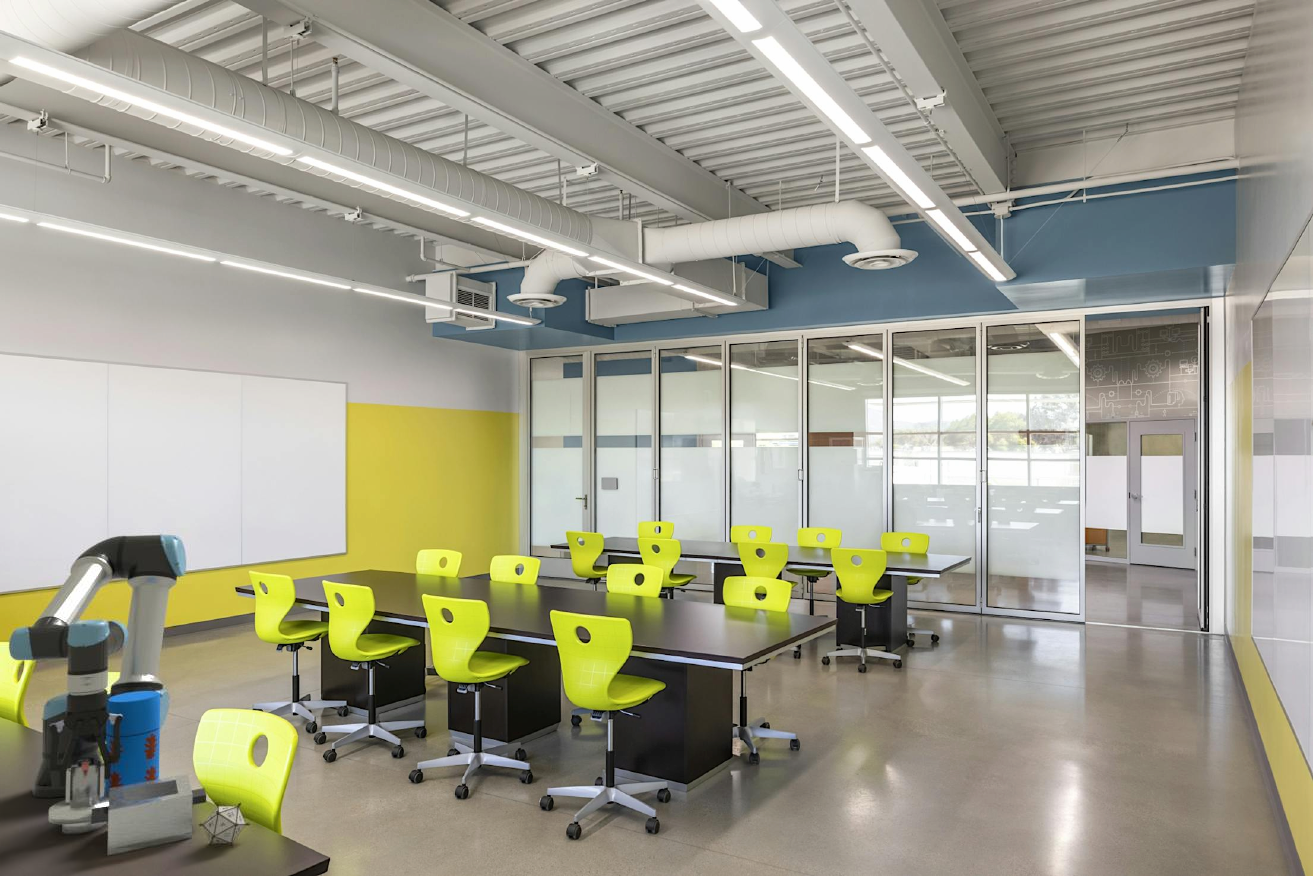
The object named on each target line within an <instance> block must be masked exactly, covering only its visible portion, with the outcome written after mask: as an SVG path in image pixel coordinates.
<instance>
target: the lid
mask: <svg viewBox="0 0 1313 876" xmlns="http://www.w3.org/2000/svg"><path fill="white" fill-rule="evenodd" d="M100 766H101V761H99V760H94V758H93V757H89V758H83V759H80V760H78V763H76V764H73V765H72V766H71V783H70V802H68V803H66V799H64V800H61V801H59V802H57V803H55V804H53V805H51V806H50V807H49V809H48V822H49V823H51V824H54V825H61V826H62V831H61V832H62V833H63V834H67V835H78V834H83V833H88V832H92V831H96V830H97V829H101V828H102V827H104V826H106V824H107V822H102V823H96V824H91V814H92V809H94V808H99V807H105V806H109V793H105V792H104V796H101V797H100Z"/></svg>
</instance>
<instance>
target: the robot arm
mask: <svg viewBox="0 0 1313 876" xmlns="http://www.w3.org/2000/svg"><path fill="white" fill-rule="evenodd" d="M69 571H70V575H69V576H68V577H67V579H66V580H65V582H64V583H63V584H62V586H61V588H60V589H59V590H57V592H56V594H55V595H54V597H53V598H52V599H51V601H50V602H49V603H48V605H47V606H46V607H45V609H44V610H43V611H42V613H41V614H40V616H39V617H38V618H37V620H36V621H35V622H34V623H33V625H32V626H28V625H27V626H24V627H17V628H16V629H14V630H13V631H12V633H11V635H10V637H9V642H8V651H9V655H10V656H11V658H12V660H15V661H32V662H33V661H40V660H53V659H57V660H58V659H67V673H66V674H67V675H66V679H67V680H66V692H65V693H62V694H59V695H56V696H53V697H51V698H50V699H47V701H46V702H45V703H44V705H43V714H42V715H43V717H42V718H41V720H42V739H41V740H42V741H41V742H42V743H41V745H42V749H41V751H42V754H41V761H40V765H39V767H38V770H37V771H36V775H35V778H34V780H33V783H32V791H31V792H32V795H33V796H34V797H37V798H59V797H61V798H62V797H65V800H66V803H68V802H70V783H71V766H72V765H73V764H76V763H78V760H80V759H83V758H89V757H93V758H94V760H99V761H101V766H100V797H101V796H104V793H105V779H109V778H110V774H111V763H112V762H114V761H117V760H119V759H120V724H121V721H122V714H110V713H109V711H108V709H107V704H108V699H109V698H111V697H113V696H116V695H119V694H124V693H130V692H137V691H157V692H159V693H160V731H161V730H162V728H163V726H164V725H165V722H166V719H167V717H168V712H169V708H170V693H169V691H168V690H166V689H164V683H163V682H162V681H161V680H160V679H159V677H158V676H159V668H160V663H161V662H160V661H161V654H162V645H163V639H164V632H165V631H164V629H165V625H166V615H167V608H168V601H169V593H170V590H171V589H173V587H175V586H176V584H177V582H178V581H177V579H178V577H179V578H181V577H184V575H185V574H186V571H187V556H186V550H185V545H184V543H183V541H182V539H181V537H179V535H175V534H162V533H160V534H155V535H154V534H153V535H151V534H150V535H149V534H147V535H119V536H118V535H117V536H112V537H109V538H107V539H104V540H102V541H100V542H97V543H96V544H95V545H93V546H90V547H89V548H88V549H86V550H85V551H83V552H82V553H81V554H80V555H79V556H78V557H77V558H76V559H75V560H74V562H73V563H72V565H71V567H70V570H69ZM117 579H119V580H120V579H127V582H126V584H127V585H128V586H130V587H131V589H132V593H131V598H130V604H129V612H128V619H127V626H126V625H125V624H124V623H122V621H118V620H106V619H98V618H97V619H84V620H80V619H81V618H82V616H83V614H84V613H85V612H86V610H87V609H88V607H89V606H90V604H91V602H92V601H93V599H94V598H95V596H96V595H97V593H98V592H99V590H100V588H102V587H105V586H107V584H108V583H110V581H112V580H117ZM122 648H123V653H122V657H121V665H120V673H119V678H118V679H117V680H116V681H115V682H113V684H111V686H110V691H109V692H108V690H107V689H106V688H107V687H108V685H109V681H108V680H109V675H108V674H109V673H108V672H109V656H111V655H113V654H114V653H117V652H119V650H121V649H122ZM107 719H110V723H111V724H112V725H113V744H114V754H113V755H111V756H110V755H109V752H108V749H107V746H106V723H107Z"/></svg>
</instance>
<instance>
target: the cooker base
mask: <svg viewBox="0 0 1313 876" xmlns="http://www.w3.org/2000/svg"><path fill="white" fill-rule="evenodd" d="M203 803H204V804H205V803H207V792H206V789H205V787H204V788H203V787H202V788H198V789H193V790H192V787H191V783H190V778H189V774H181V775H176V776H170V777H166V778H159V780H153V781H147V782H142V783H136V784H130V785H125V786H119V787H113V788H109V806H105V807H99V808H94V809H92V814H91V824H96V823H102V822H106V823H107V827H108V828H107V856H111V855H116V854H121V853H126V852H131V851H134V850H140V849H145V848H151V847H155V846H158V845H164V844H169V843H173V842H177V841H178V842H179V841H184V840H188V839H192V838H193V806H194V805H200V804H203Z"/></svg>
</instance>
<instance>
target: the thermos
mask: <svg viewBox="0 0 1313 876" xmlns="http://www.w3.org/2000/svg"><path fill="white" fill-rule="evenodd" d="M107 709H108V711H109V713H110V714H122V721H121V724H120V759H119V760H117V761H114V762H112V763H111V774H110V778H109V779H105V783H104V793H109V788H113V787H119V786H125V785H130V784H136V783H142V782H147V781H153V780H159V779H160V744H161V743H160V739H161V737H160V734H161V730H160V693H159V692H157V691H137V692H130V693H124V694H119V695H116V696H113V697H111V698H109V699H108V704H107ZM105 743H106V746H107V749H108V752H109V755H110V756H111V755H113V754H114V744H113V725H112V724H111V723H110V719H107V723H106V742H105Z"/></svg>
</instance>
